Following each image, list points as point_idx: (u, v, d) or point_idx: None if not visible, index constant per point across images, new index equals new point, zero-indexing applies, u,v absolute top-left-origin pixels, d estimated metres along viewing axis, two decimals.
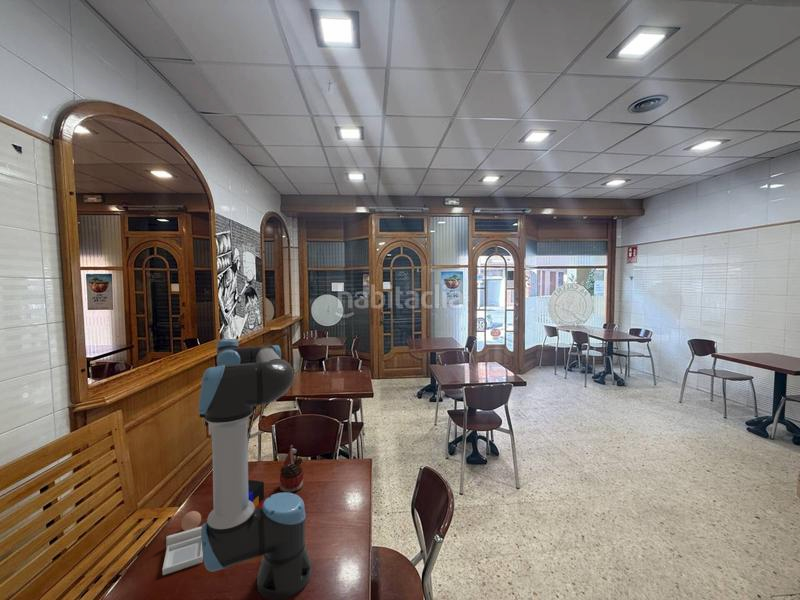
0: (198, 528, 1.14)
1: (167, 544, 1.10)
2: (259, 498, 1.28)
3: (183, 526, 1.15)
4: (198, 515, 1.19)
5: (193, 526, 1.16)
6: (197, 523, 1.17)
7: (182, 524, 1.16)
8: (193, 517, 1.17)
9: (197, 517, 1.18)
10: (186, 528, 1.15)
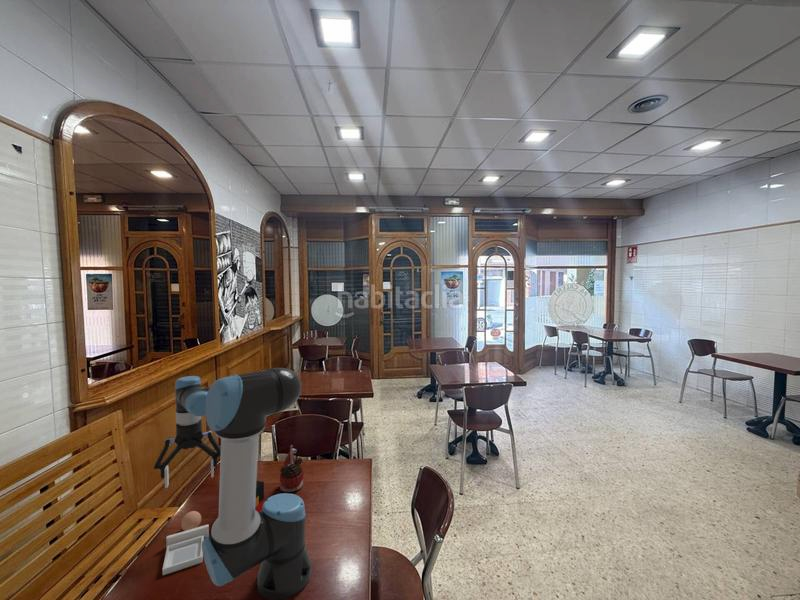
0: (198, 528, 1.14)
1: (167, 544, 1.10)
2: (259, 498, 1.28)
3: (183, 526, 1.15)
4: (198, 515, 1.19)
5: (193, 526, 1.16)
6: (197, 523, 1.17)
7: (182, 524, 1.16)
8: (193, 517, 1.17)
9: (197, 517, 1.18)
10: (186, 528, 1.15)
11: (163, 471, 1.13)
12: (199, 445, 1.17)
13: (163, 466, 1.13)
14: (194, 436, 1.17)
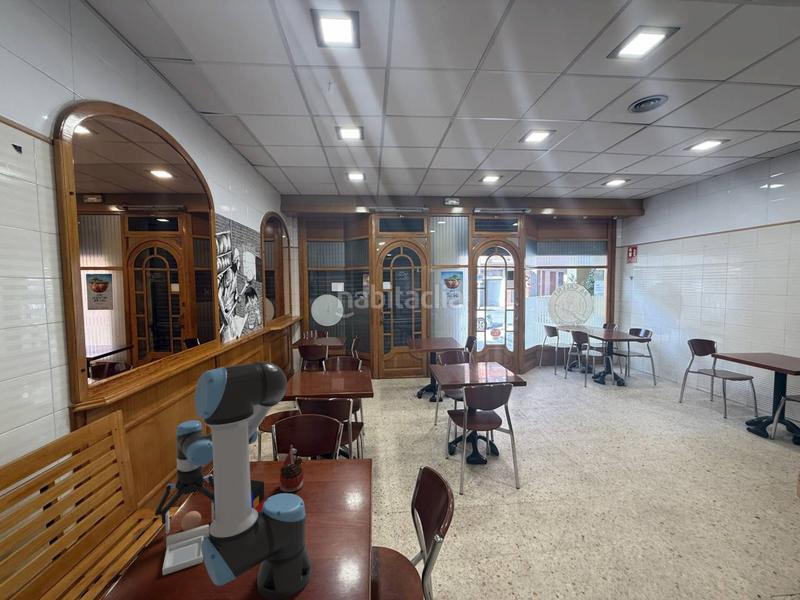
0: (198, 528, 1.14)
1: (167, 544, 1.10)
2: (259, 498, 1.28)
3: (183, 526, 1.15)
4: (198, 515, 1.19)
5: (193, 526, 1.16)
6: (197, 523, 1.17)
7: (182, 524, 1.16)
8: (193, 517, 1.17)
9: (197, 517, 1.18)
10: (186, 528, 1.15)
11: (164, 517, 1.14)
12: (200, 490, 1.18)
13: (164, 512, 1.13)
14: (195, 481, 1.17)
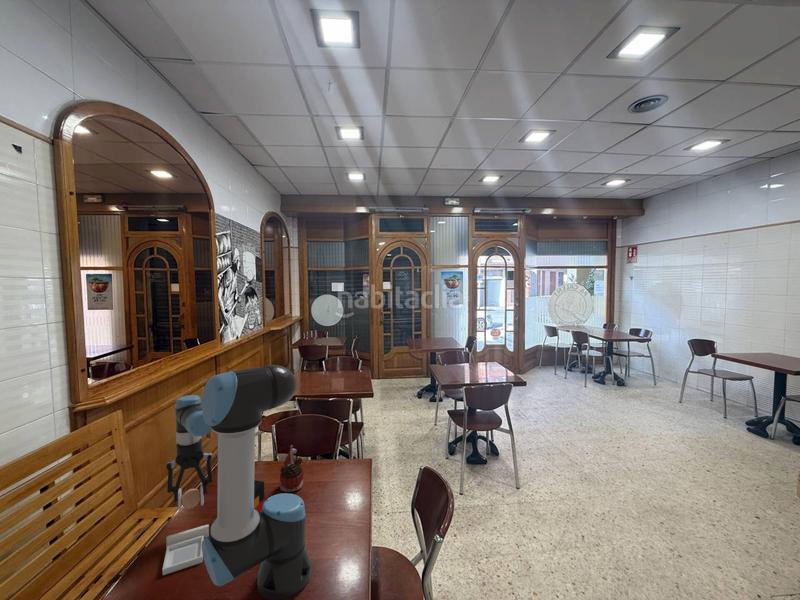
0: (198, 528, 1.14)
1: (167, 544, 1.10)
2: (259, 498, 1.28)
3: (182, 503, 1.15)
4: (198, 492, 1.18)
5: (193, 503, 1.16)
6: (197, 500, 1.17)
7: (182, 501, 1.15)
8: (193, 494, 1.16)
9: (197, 494, 1.17)
10: (186, 505, 1.15)
11: (176, 494, 1.15)
12: (196, 467, 1.17)
13: (176, 489, 1.14)
14: (196, 454, 1.17)
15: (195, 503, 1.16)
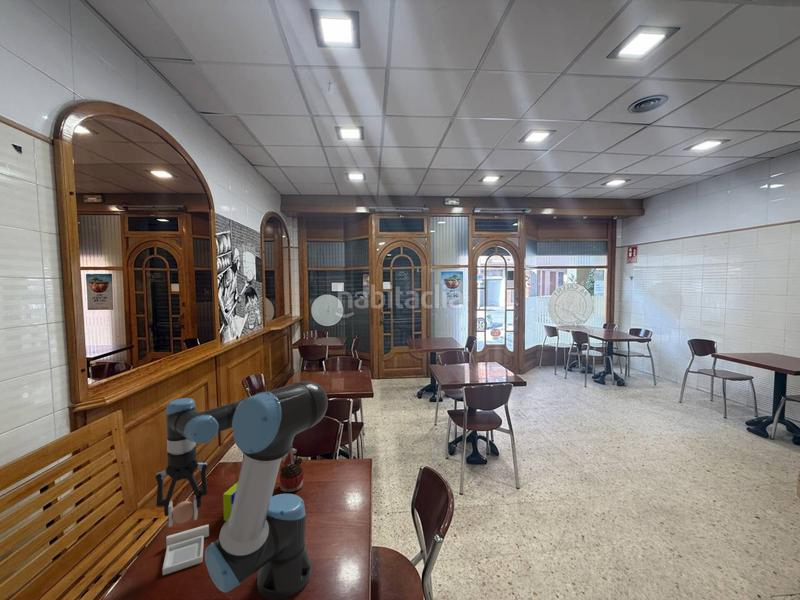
0: (198, 528, 1.14)
1: (167, 544, 1.10)
2: None
3: (173, 517, 1.03)
4: (191, 505, 1.06)
5: (185, 518, 1.04)
6: (190, 514, 1.05)
7: (173, 515, 1.03)
8: (185, 508, 1.04)
9: (189, 508, 1.05)
10: (177, 520, 1.03)
11: (167, 508, 1.03)
12: (189, 478, 1.05)
13: (166, 503, 1.03)
14: (189, 464, 1.05)
15: (188, 518, 1.04)
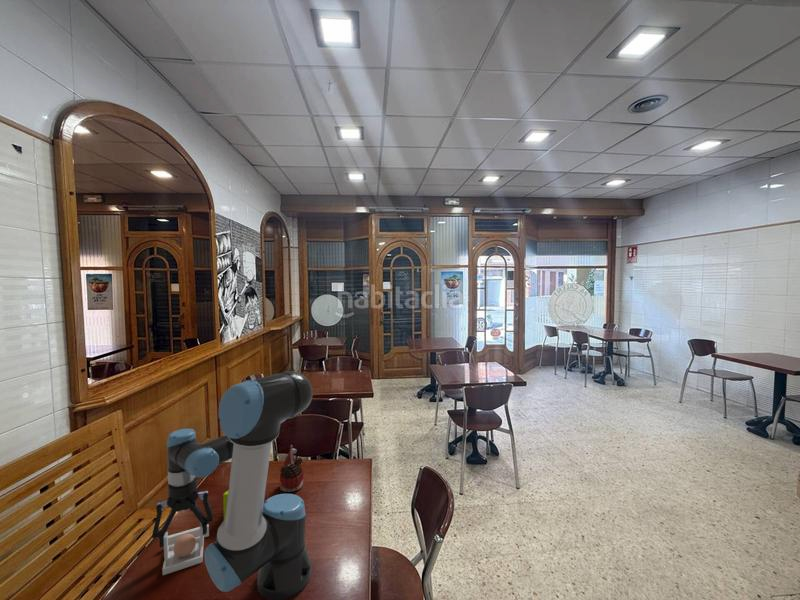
0: (198, 528, 1.14)
1: None
2: None
3: (175, 551, 1.04)
4: (193, 539, 1.07)
5: (186, 552, 1.04)
6: (191, 548, 1.05)
7: (174, 549, 1.04)
8: (187, 541, 1.05)
9: (191, 541, 1.06)
10: (179, 554, 1.03)
11: (162, 539, 1.03)
12: (192, 508, 1.05)
13: (162, 534, 1.02)
14: (189, 495, 1.05)
15: (189, 552, 1.05)
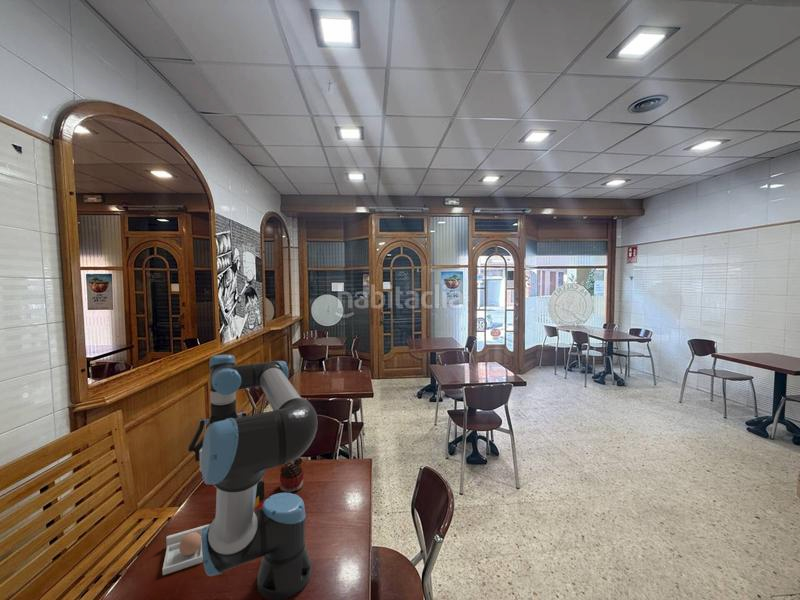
0: (198, 528, 1.14)
1: (167, 544, 1.10)
2: (260, 498, 1.28)
3: (182, 546, 1.04)
4: (200, 541, 1.08)
5: (191, 551, 1.05)
6: (195, 550, 1.06)
7: (182, 543, 1.05)
8: (196, 541, 1.06)
9: (199, 543, 1.07)
10: (184, 550, 1.04)
11: (198, 454, 1.08)
12: None
13: (198, 448, 1.08)
14: (229, 417, 1.12)
15: (192, 552, 1.05)
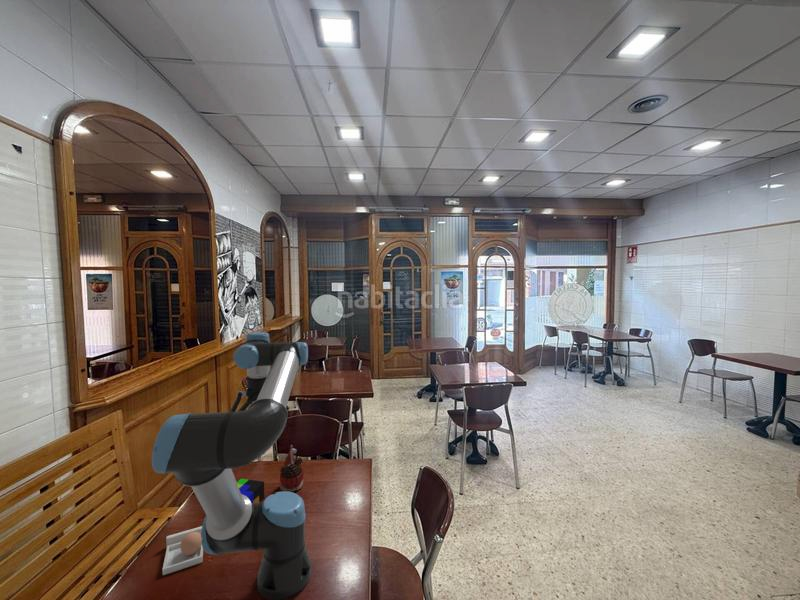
0: (198, 528, 1.14)
1: (167, 544, 1.10)
2: (260, 498, 1.28)
3: (184, 544, 1.05)
4: None
5: (192, 551, 1.05)
6: (196, 550, 1.06)
7: (185, 542, 1.05)
8: (198, 541, 1.06)
9: (200, 543, 1.07)
10: (185, 549, 1.04)
11: None
12: None
13: None
14: None
15: (193, 552, 1.05)
